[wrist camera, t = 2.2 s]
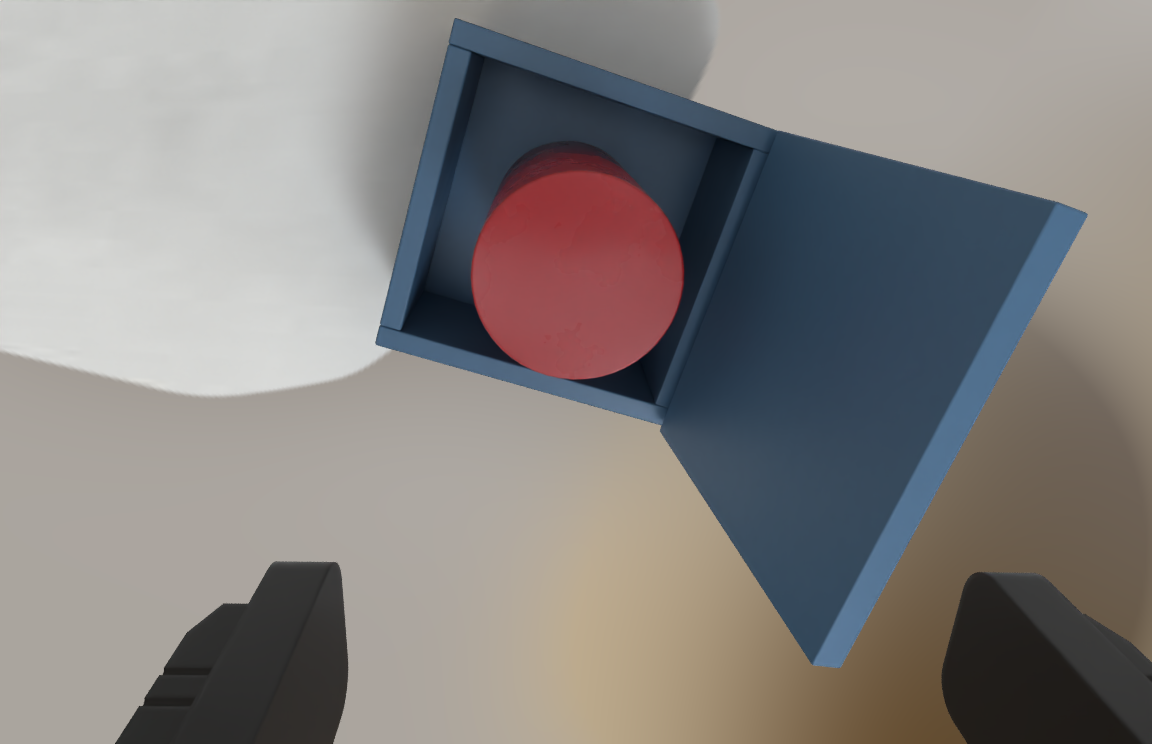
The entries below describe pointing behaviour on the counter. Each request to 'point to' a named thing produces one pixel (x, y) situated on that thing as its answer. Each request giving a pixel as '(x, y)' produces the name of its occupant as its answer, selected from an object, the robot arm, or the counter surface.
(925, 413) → the lid
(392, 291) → the blue open square box
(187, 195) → the counter surface
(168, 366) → the counter surface
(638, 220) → the can
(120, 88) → the counter surface
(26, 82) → the counter surface
